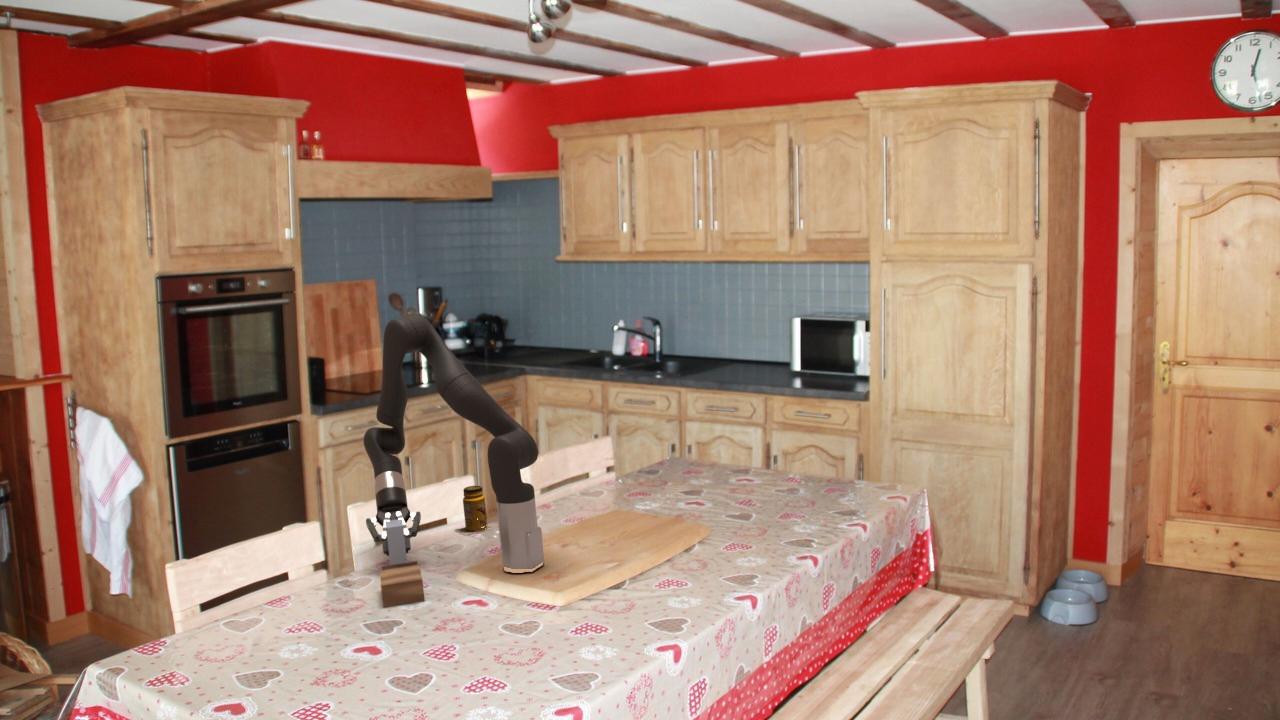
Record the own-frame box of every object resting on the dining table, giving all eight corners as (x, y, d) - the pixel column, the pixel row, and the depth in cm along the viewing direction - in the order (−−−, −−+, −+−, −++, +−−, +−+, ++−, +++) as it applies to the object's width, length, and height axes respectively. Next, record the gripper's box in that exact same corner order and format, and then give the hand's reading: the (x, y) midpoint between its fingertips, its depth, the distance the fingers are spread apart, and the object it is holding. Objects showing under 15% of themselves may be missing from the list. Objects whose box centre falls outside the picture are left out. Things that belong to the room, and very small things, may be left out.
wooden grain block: (381, 580, 251) (378, 557, 250) (419, 575, 253) (416, 551, 253) (383, 607, 232) (380, 582, 231) (424, 600, 234) (421, 575, 234)
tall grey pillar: (390, 567, 260) (385, 520, 259) (406, 565, 261) (401, 518, 260) (391, 575, 253) (386, 528, 252) (408, 573, 254) (403, 525, 253)
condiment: (493, 529, 290) (489, 487, 289) (465, 535, 285) (460, 493, 284) (482, 524, 296) (477, 483, 295) (454, 530, 291) (450, 488, 290)
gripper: (360, 489, 260) (366, 549, 250) (418, 481, 264) (426, 541, 254) (362, 505, 266) (368, 564, 256) (419, 497, 270) (427, 556, 259)
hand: (397, 552), depth 255 cm, fingers closed on tall grey pillar, 4 cm apart
